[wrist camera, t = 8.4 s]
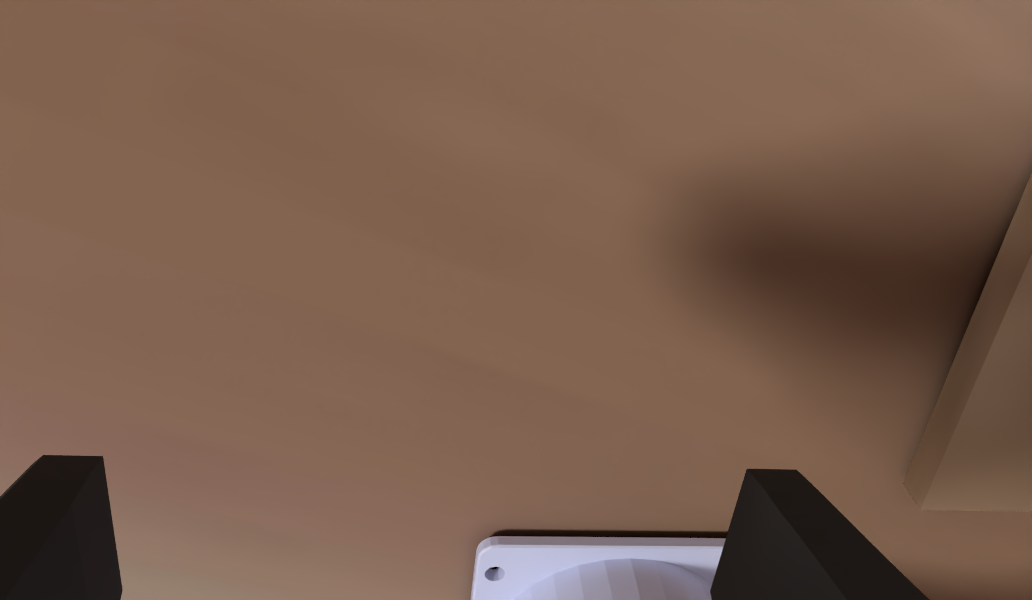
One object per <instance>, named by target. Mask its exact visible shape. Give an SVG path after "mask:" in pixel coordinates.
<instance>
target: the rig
mask: <svg viewBox="0 0 1032 600" xmlns="http://www.w3.org/2000/svg"><path fill="white" fill-rule="evenodd" d="M903 484H904V485H905V487H906V489H907V490H908V492H909V493H910V495H911V496H912V498H913V500H914V501H915V503H916V504H917V506H918V508H919V509H920V510H953V511H1026V512H1032V173H1031V176H1030V178H1029V181H1028V183H1027V185H1026V188H1025V190H1024V193H1023V195H1022V197H1021V200H1020V202H1019V205H1018V207H1017V209H1016V212H1015V214H1014V217H1013V219H1012V221H1011V224H1010V226H1009V229H1008V231H1007V234H1006V236H1005V238H1004V241H1003V243H1002V246H1001V248H1000V250H999V253H998V255H997V258H996V260H995V262H994V265H993V267H992V270H991V272H990V274H989V277H988V279H987V282H986V284H985V287H984V289H983V291H982V294H981V296H980V299H979V301H978V303H977V306H976V308H975V311H974V313H973V315H972V318H971V320H970V323H969V325H968V328H967V330H966V332H965V335H964V337H963V340H962V342H961V344H960V347H959V349H958V352H957V354H956V356H955V359H954V361H953V364H952V366H951V368H950V371H949V373H948V376H947V378H946V381H945V383H944V385H943V388H942V390H941V393H940V395H939V397H938V400H937V402H936V405H935V407H934V409H933V412H932V414H931V417H930V419H929V422H928V424H927V426H926V429H925V431H924V434H923V436H922V438H921V441H920V443H919V446H918V448H917V450H916V453H915V455H914V458H913V460H912V462H911V465H910V467H909V470H908V472H907V475H906V477H905V479H904V482H903Z"/></svg>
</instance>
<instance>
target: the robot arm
mask: <svg viewBox="0 0 1032 600" xmlns="http://www.w3.org/2000/svg"><path fill="white" fill-rule="evenodd" d="M491 567H500V568H498V569H494V570H492V569H489V568H491ZM121 594H122V584H121V577H120V570H119V564H118V557H117V550H116V543H115V536H114V529H113V522H112V516H111V509H110V502H109V495H108V488H107V481H106V474H105V468H104V461H103V456H62V455H43V456H41V457H40V458H39V459H38V460H37V461H35V462H34V463H33V464H32V465H31V466H30V467H29V468H28V469H27V470H26V471H25V472H24V473H23V474H22V475H21V476H20V477H19V478H18V479H17V480H16V481H15V482H14V483H13V484H12V485H11V486H10V487H9V488H8V489H7V490H6V491H5V492H4V493H3V494H2V495H1V496H0V600H120V599H121ZM471 600H929V599H928V598H927V597H926V596H925V595H924V594H923V593H922V592H921V591H920V590H919V589H918V588H916V587H915V586H914V585H913V584H912V583H911V582H910V581H909V580H908V579H907V578H906V577H905V576H904V575H903V574H902V573H901V572H900V571H899V570H898V569H897V568H896V567H895V566H894V565H893V564H892V563H891V562H890V561H889V560H888V559H887V558H886V557H885V556H884V555H883V554H882V553H881V552H880V551H879V550H878V549H877V548H876V547H874V546H873V545H872V544H871V543H870V542H869V541H868V540H867V539H866V538H865V537H864V536H863V535H862V534H861V533H860V532H859V531H858V530H857V529H856V528H855V527H854V526H853V525H852V524H851V523H850V522H849V521H848V520H847V519H846V518H845V517H844V516H843V515H842V514H841V513H840V512H839V511H838V510H837V509H836V508H835V507H834V506H833V505H832V504H831V503H830V502H829V501H828V500H827V499H826V498H825V497H824V496H823V495H822V494H821V493H820V492H819V491H818V490H817V489H816V488H815V487H814V486H813V485H812V484H811V483H810V482H809V481H808V480H807V479H806V478H805V477H804V476H803V475H802V474H800V473H799V472H798V471H797V470H781V469H747V470H746V473H745V477H744V480H743V483H742V487H741V490H740V493H739V497H738V500H737V503H736V507H735V510H734V513H733V516H732V520H731V523H730V526H729V530H728V533H727V536H726V538H641V537H533V536H495V537H489V538H487V539H485V540H483V541H482V542H481V543H480V544H479V545H478V547H477V550H476V558H475V567H474V575H473V583H472V592H471Z"/></svg>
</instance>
